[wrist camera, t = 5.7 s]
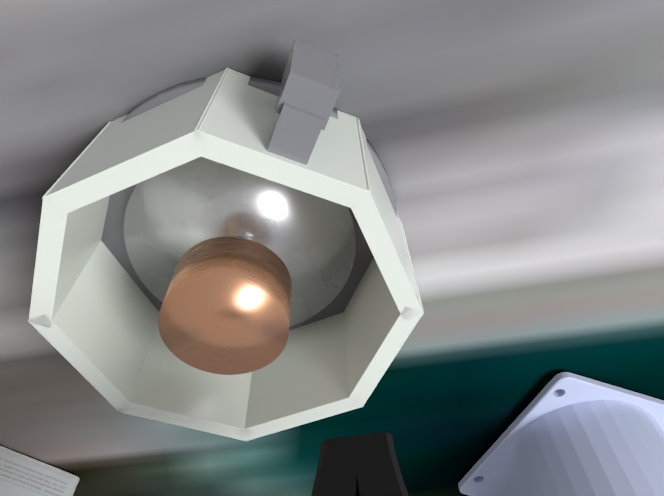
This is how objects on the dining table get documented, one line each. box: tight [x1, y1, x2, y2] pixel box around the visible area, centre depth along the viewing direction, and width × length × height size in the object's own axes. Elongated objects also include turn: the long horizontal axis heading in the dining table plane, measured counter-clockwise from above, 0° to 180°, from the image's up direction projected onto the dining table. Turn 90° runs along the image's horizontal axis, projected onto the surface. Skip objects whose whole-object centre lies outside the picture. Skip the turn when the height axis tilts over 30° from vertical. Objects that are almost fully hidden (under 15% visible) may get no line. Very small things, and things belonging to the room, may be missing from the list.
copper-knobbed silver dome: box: [124, 157, 356, 375], centre depth 17 cm, size 8×8×4 cm
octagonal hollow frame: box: [27, 38, 424, 441], centre depth 17 cm, size 12×11×5 cm
